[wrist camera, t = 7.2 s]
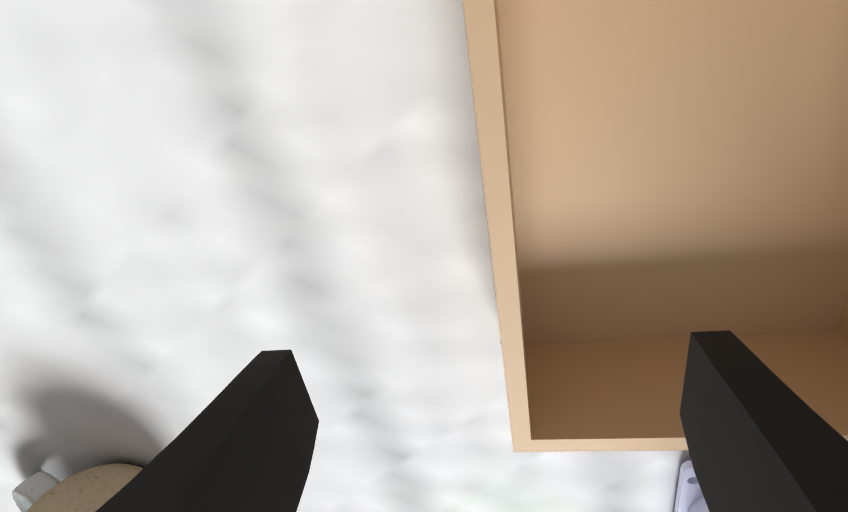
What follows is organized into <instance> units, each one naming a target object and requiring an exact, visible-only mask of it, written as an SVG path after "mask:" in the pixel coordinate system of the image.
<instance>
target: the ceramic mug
mask: <svg viewBox="0 0 848 512" xmlns="http://www.w3.org/2000/svg"><path fill="white" fill-rule="evenodd" d="M142 469H143V468H142V467H140V466H136V465H131V464H120V463H114V464H107V465H100V466H96V467H92V468H88V469H85V470H83V471H80V472H78V473H76V474H74V475H72V476H69V477H67V478H66V479H64V480H63V481H61V482H60V481H59V480H58V479H57V478H55V477H54V476H52V475H50V474H49V473H47V472H45V471H39V472H36V473H35V474H33V475H32V476H31V477H29V478H28V479H26V480H25V481H23V482H22V483H21V484H20V485H18V486H17V487H16V488H15V489H14V491H13V493H12V494H13V499H14V501H15V502H16V505H17V506H18V508H19V509H20V511H21V512H95V511H96V510H97V509H99V508H100V507H101V506H102V505H103V504H105V503H106V502H107V501H108V500H109V499H110V498H112V497H113V496H114V495H115V494H116V493H117V492H118V491H120V490H121V489H122V488H123V487H124V486H125V485H126V484H127V483H129V482H130V481H131V480H132V479H133V478H134V477H135V476H136V475H137V474H138V473H139V472H140V471H141V470H142Z"/></svg>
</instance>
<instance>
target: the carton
mask: <svg viewBox="0 0 848 512" xmlns="http://www.w3.org/2000/svg"><path fill="white" fill-rule="evenodd" d="M463 9H464V18H465V27H466V36H467V45H468V54H469V62H470V71H471V80H472V89H473V98H474V107H475V116H476V124H477V133H478V142H479V151H480V160H481V169H482V177H483V186H484V195H485V204H486V213H487V222H488V231H489V239H490V248H491V257H492V266H493V275H494V284H495V293H496V301H497V310H498V319H499V328H500V337H501V346H502V354H503V363H504V372H505V381H506V390H507V399H508V408H509V416H510V425H511V434H512V443H513V452H562V451H657V450H688V446H687V442H686V438H685V434H684V430H683V426H682V422H681V418H680V407H681V400H682V392H683V385H684V377H685V370H686V363H687V355H688V348H689V341H690V333H691V332H703V331H725V330H730V331H731V332H732V333H733V334H734V335H736V336H737V337H738V338H739V339H740V340H741V341H742V342H743V343H744V344H745V345H746V346H747V347H748V348H749V349H750V350H751V351H752V352H753V353H754V354H755V355H756V356H757V357H758V358H759V359H760V360H761V361H762V362H763V363H764V364H765V365H766V366H767V367H768V368H769V369H770V370H771V371H772V372H773V373H774V374H776V375H777V376H778V377H779V378H780V379H781V380H782V381H783V382H784V383H785V384H786V385H787V386H788V387H789V388H790V389H791V390H792V391H793V392H794V393H795V394H797V395H798V396H799V397H800V398H801V399H802V400H803V401H804V402H805V403H806V404H807V405H808V406H809V407H810V408H812V409H813V410H814V411H815V412H816V413H817V414H818V415H819V416H820V417H822V418H823V419H824V420H825V421H826V422H827V423H828V424H829V425H831V426H832V427H833V428H834V429H835V430H836V431H837V432H838V433H839V434H841V435H842V436H843V437H844V438H845V439H846V440H847V441H848V0H463Z"/></svg>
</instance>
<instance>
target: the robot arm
mask: <svg viewBox="0 0 848 512" xmlns="http://www.w3.org/2000/svg"><path fill="white" fill-rule="evenodd" d="M680 418H681V422H682V426H683V430H684V434H685V438H686V442H687V446H688V450H689V454H690V458H691V460H688V461H685V462H684V463H683V464H682V465H681V467H680V474H679V481H678V488H677V495H676V502H675V509H674V512H848V441H847V440H846V439H845V438H844V437H843V436H842V435H841V434H839V433H838V432H837V431H836V430H835V429H834V428H833V427H832V426H831V425H829V424H828V423H827V422H826V421H825V420H824V419H823V418H822V417H820V416H819V415H818V414H817V413H816V412H815V411H814V410H813V409H812V408H810V407H809V406H808V405H807V404H806V403H805V402H804V401H803V400H802V399H801V398H800V397H799V396H798V395H797V394H795V393H794V392H793V391H792V390H791V389H790V388H789V387H788V386H787V385H786V384H785V383H784V382H783V381H782V380H781V379H780V378H779V377H778V376H777V375H776V374H774V373H773V372H772V371H771V370H770V369H769V368H768V367H767V366H766V365H765V364H764V363H763V362H762V361H761V360H760V359H759V358H758V357H757V356H756V355H755V354H754V353H753V352H752V351H751V350H750V349H749V348H748V347H747V346H746V345H745V344H744V343H743V342H742V341H741V340H740V339H739V338H738V337H737V336H736V335H734V334H733V333H732V332H731V331H730V330H725V331H703V332H691V333H690V341H689V348H688V355H687V363H686V370H685V377H684V385H683V392H682V400H681V407H680ZM318 423H319V420H318V417H317V415H316V412H315V410H314V407H313V405H312V402H311V399H310V397H309V394H308V392H307V389H306V387H305V384H304V381H303V379H302V376H301V374H300V371H299V369H298V366H297V363H296V361H295V358H294V356H293V353H292V351H291V350H274V351H261V352H260V353H259V354H258V355H257V356H256V357H255V358H254V359H253V360H252V361H251V362H250V363H249V364H248V365H247V366H246V367H245V368H244V369H243V370H242V371H241V372H240V373H239V374H238V375H237V376H236V377H235V378H234V379H233V380H232V381H231V382H230V384H229V385H228V386H227V387H226V388H225V389H224V390H223V391H222V392H221V393H220V394H219V395H218V396H217V397H216V398H215V399H214V400H213V401H212V402H211V403H210V404H209V405H208V406H207V407H206V408H205V409H204V410H203V411H202V412H201V413H200V414H199V415H198V416H197V417H196V418H195V419H194V420H193V421H192V422H191V423H190V424H189V425H188V426H187V427H186V428H185V429H184V430H183V431H182V432H181V433H180V434H179V435H178V436H177V437H176V438H175V439H174V440H173V441H172V442H171V443H170V444H169V445H168V446H167V447H166V448H165V449H164V450H163V451H162V452H161V453H159V454H158V455H157V456H156V457H155V458H154V459H153V460H152V461H151V462H150V463H149V464H148V465H147V466H146V467H145V468H143V469H142V470H141V471H140V472H139V473H138V474H137V475H136V476H135V477H134V478H133V479H132V480H131V481H130V482H129V483H127V484H126V485H125V486H124V487H123V488H122V489H121V490H120V491H118V492H117V493H116V494H115V495H114V496H113V497H112V498H110V499H109V500H108V501H107V502H106V503H105V504H103V505H102V506H101V507H100V508H99V509H97V510H96V511H95V512H296V511H297V508H298V505H299V501H300V498H301V495H302V492H303V489H304V486H305V483H306V480H307V476H308V473H309V469H310V465H311V460H312V455H313V450H314V445H315V440H316V434H317V429H318Z"/></svg>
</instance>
